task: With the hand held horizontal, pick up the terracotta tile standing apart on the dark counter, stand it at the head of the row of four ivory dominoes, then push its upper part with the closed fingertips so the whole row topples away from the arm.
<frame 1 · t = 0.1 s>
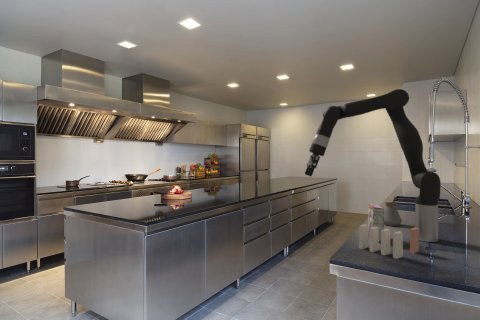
hand: (307, 175, 145), 31 cm above the counter, tool tilted 20°, fingers open, 8 cm apart
domino 4: (363, 247, 129), on the counter
domino 2: (385, 253, 121), on the counter
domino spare: (414, 252, 123), on the counter
domino 1: (397, 257, 117), on the counter
candy bar box: (375, 239, 143), on the counter
coffee pot: (392, 223, 176), on the counter
domino 3: (374, 250, 125), on the counter
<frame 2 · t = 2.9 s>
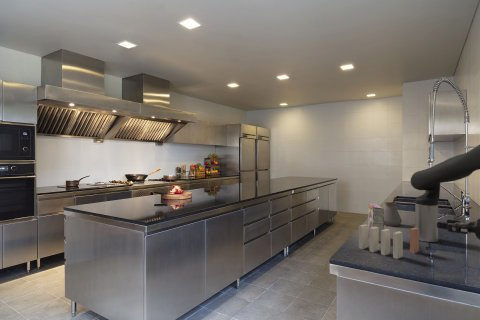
hand: (442, 223, 114), 14 cm above the counter, tool horizontal, fingers open, 8 cm apart
nothing on the counter moved.
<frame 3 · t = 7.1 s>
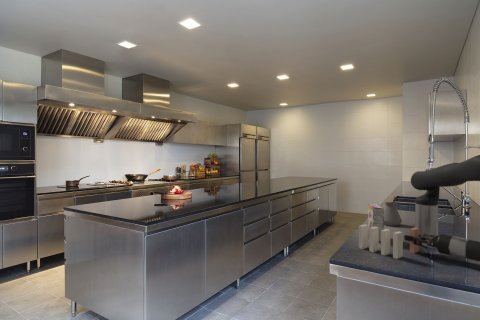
hand: (407, 236, 125), 6 cm above the counter, tool horizontal, fingers closed on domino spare, 4 cm apart
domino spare: (414, 252, 123), on the counter, touching gripper
everything else where it was.
when the fingers open (7 cm above the counter, at t = 12.4 s): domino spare stays where it is, on the counter.
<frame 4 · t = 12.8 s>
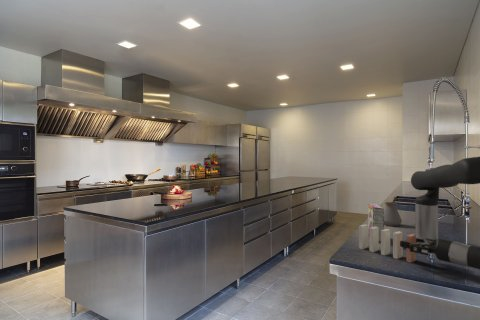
hand: (405, 241, 114), 7 cm above the counter, tool horizontal, fingers open, 8 cm apart
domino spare: (411, 260, 113), on the counter
everything else where it was.
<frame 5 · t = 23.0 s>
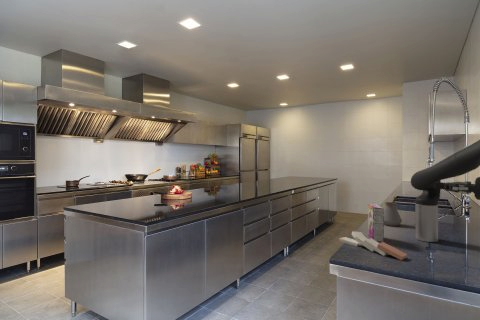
hand: (434, 185, 106), 30 cm above the counter, tool horizontal, fingers closed
domino 4: (359, 244, 133), on the counter, tilted 90°, touching domino 3
domino 2: (376, 249, 124), point 1 cm above the counter, tilted 73°, touching domino 1, domino 3
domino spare: (404, 257, 114), point 1 cm above the counter, tilted 74°, touching domino 1
domino 1: (387, 253, 119), point 1 cm above the counter, tilted 73°, touching domino 2, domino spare
domino 3: (365, 244, 130), point 1 cm above the counter, tilted 75°, touching domino 2, domino 4
everything else where it was.
at the end: domino 4 tilted 90°; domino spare tilted 74°; the gripper is holding nothing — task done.
